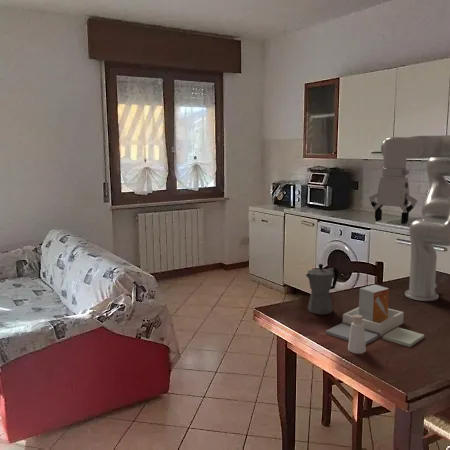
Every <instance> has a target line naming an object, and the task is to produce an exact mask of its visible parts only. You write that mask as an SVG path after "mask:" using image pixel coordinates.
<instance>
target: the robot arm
mask: <svg viewBox="0 0 450 450" xmlns="http://www.w3.org/2000/svg"><path fill="white" fill-rule="evenodd" d="M380 151H381V154H382V157H383V158H382V172H381V173H382V176H380V179H379V180H378V181H379V182H378V186H377V193H375V194H373V195H370V196H368V197H369V198H368V199H369V202H370V205H371V206H372V207H373V210H374V218H375V219H374V220H375V222H380V221H382V214H383V210H382V208H383V207H384V206H387V207H398V208H399V207H400V209H401V210H402V212H401V217H400V218H401V219H400V224H401V225H406V224H408V222H409V214H410V212H411V211H412V210H413V209H415V206H416V205H417V203H418V200H417V199H416V198H414V197H412V196H411V195H410V185H409V184H410V183H409V179H408V177H406V176H407V175H410V171H409V170H407V168H406V167H407V160H411V159H412V160H413V159H417V160H418V159H419V160H420V159H422V160H423V159H427V161H426V173H427V176H428V177H427V178H428V182H429V183H428V184H429V186H428V191H427V194H426V197H425V199H424V201H423V204H422V207H421V215H422V217H423V218H418V219H417V218H416V219H415V220H413V221H412V222H411V223H410V225H409V239H410V262H409V263H410V264H409V265H410V266H409V270H410V271H409V283H408V284H409V285H408V286H409V288H408V289H407V290H406V291H404V295H405V297H407V298H408V299H411V300H415V301H421V302H433V301H437V300H438V299H439V294H438V293H437V292H436V288H437V287H438V284H437V283H436V277H437V276H436V273H437V257H438V256H437V252H436V249H435V247H434V246H442V247H450V183H449V181H448V180H447V179H446V178H445V177H450V135H449V134H448V135H447V134H446V135H413V136H403V137H402V136H394V137H393V136H392V137H391V136H390V137H387V138H385V139H384V140H383V141H382V143H381V146H380ZM408 205H409V206H408Z"/></svg>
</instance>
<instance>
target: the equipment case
mask: <svg viewBox="0 0 450 450" xmlns="http://www.w3.org/2000/svg"><path fill="white" fill-rule="evenodd" d="M404 314H405V312H404V311H402V310H401V311H400V310H397V309H393V308H389V307H388V319H386V320H384V321H382V322H381V323H376V322H373V321H369V320H366V319H362V323H363V325H364V333H365V346H366V345H368V344H369V343H371V342H374V341H375V340H377V339H379V338H381V337H383V336H384V335H385V334H387V333H389V332H390V331H392V330H394V329H396V328H397V327H399V326H401V325H403V324H404ZM353 315H359V306H358V307H356V308H353V309H351V310H349V311H347V312H345V313H342V322H341V323H339V324H337V325H334V326H332V327H331V328H329V329H326V330H325V334H326V335H329V336H332V337H334V338H338V339H341V340H345V341H347V342H349V336H350V329H351V323H353Z"/></svg>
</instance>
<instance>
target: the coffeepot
mask: <svg viewBox="0 0 450 450" xmlns="http://www.w3.org/2000/svg"><path fill="white" fill-rule="evenodd" d="M323 264H324V263H319V264H318V268H312V269H310V270H308V271H307V274H306V276H305V277H306V278H308V281H309V283H308V284H309V289H310V291H311V293H310V295H309V298H308V299H309V301H308V306H307V310H308V311H309V313H312V314H314V315H328V314H331V313H332V312H333V304H332V298H331V293H330V290H333V289H336V286H337V281H338V277H339V275H340V271H339V270H338V268H337V267H329V268H327V269H326V268H323V267H324V265H323Z"/></svg>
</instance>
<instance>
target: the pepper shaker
mask: <svg viewBox="0 0 450 450" xmlns="http://www.w3.org/2000/svg"><path fill="white" fill-rule="evenodd" d="M362 318H363V317H362V316H361V315H353V323H351V329H350V336H349V341H348V345H347V350H348V351H349V352H350V353H353V354H355V355H356V354H358V355H359V354H360V355H362V354H364V353H366V352H367V349H366V348H367V347H366V345H365V333H364V325H363V323H362Z"/></svg>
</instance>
